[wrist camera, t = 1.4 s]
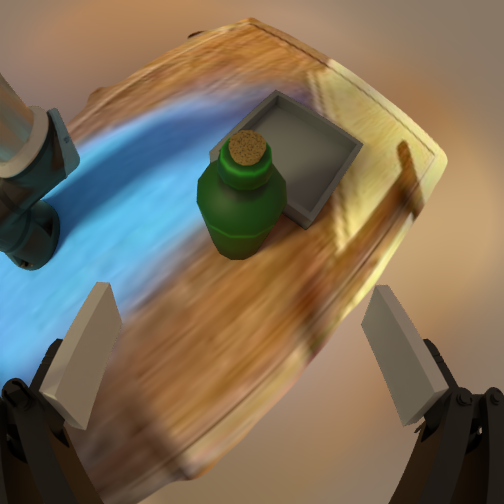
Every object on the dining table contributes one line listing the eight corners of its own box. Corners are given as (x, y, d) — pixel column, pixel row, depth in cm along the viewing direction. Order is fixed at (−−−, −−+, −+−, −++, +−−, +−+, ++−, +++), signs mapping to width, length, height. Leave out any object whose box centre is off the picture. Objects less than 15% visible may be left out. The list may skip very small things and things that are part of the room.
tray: (210, 164, 53) (209, 152, 48) (273, 102, 58) (275, 89, 54) (305, 229, 51) (312, 221, 47) (355, 155, 56) (363, 144, 52)
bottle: (257, 203, 52) (284, 95, 24) (274, 257, 49) (326, 185, 22) (201, 217, 50) (176, 114, 23) (215, 273, 48) (199, 215, 21)
